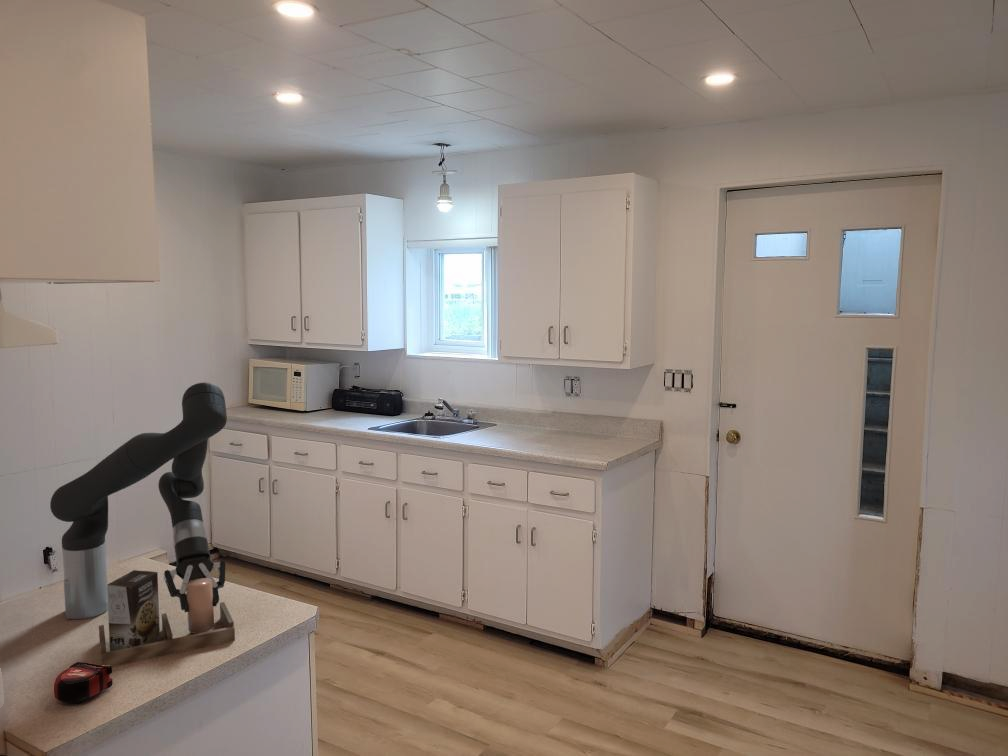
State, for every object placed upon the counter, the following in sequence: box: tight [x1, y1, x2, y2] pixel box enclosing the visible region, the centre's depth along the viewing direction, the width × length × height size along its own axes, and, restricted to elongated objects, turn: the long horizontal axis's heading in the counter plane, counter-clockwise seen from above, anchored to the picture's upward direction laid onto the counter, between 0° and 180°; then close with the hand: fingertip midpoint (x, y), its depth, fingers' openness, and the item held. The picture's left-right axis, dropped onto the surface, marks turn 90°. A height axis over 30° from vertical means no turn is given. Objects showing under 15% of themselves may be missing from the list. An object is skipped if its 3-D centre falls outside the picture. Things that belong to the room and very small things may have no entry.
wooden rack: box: [98, 602, 236, 667], centre depth 170 cm, size 27×13×4 cm, turn 120°
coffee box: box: [107, 569, 161, 652], centre depth 167 cm, size 9×6×16 cm
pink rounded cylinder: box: [186, 578, 215, 634], centre depth 174 cm, size 6×6×11 cm
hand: (201, 607), depth 173 cm, fingers closed on pink rounded cylinder, 5 cm apart
